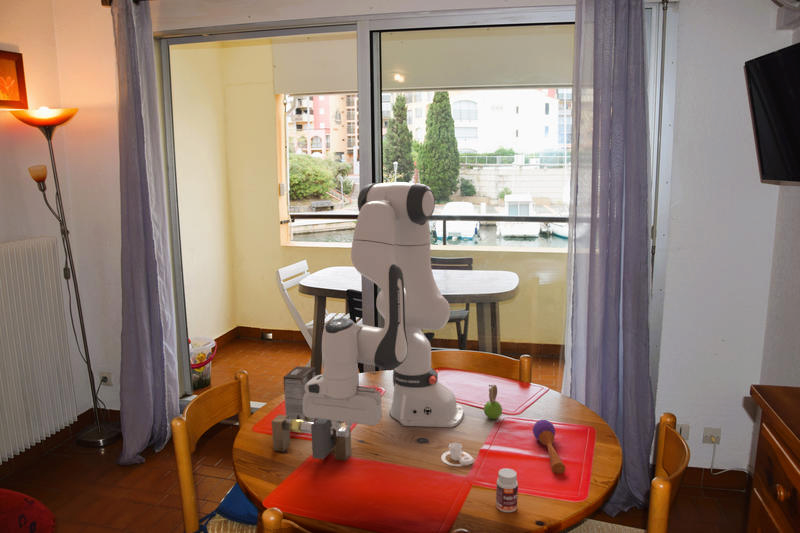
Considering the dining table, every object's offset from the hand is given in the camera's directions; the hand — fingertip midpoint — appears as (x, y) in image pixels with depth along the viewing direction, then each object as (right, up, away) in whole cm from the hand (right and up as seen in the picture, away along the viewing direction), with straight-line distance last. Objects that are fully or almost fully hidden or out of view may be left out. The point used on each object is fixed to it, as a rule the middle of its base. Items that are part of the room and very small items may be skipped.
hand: (342, 435), depth 148 cm
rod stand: (-9, -7, +10) cm, 15 cm away
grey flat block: (-4, -5, +8) cm, 10 cm away
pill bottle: (+38, -12, -16) cm, 43 cm away
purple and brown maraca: (+54, -7, +7) cm, 55 cm away
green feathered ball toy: (+42, -3, +27) cm, 50 cm away
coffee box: (-15, -4, +27) cm, 31 cm away
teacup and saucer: (+28, -9, +3) cm, 30 cm away
